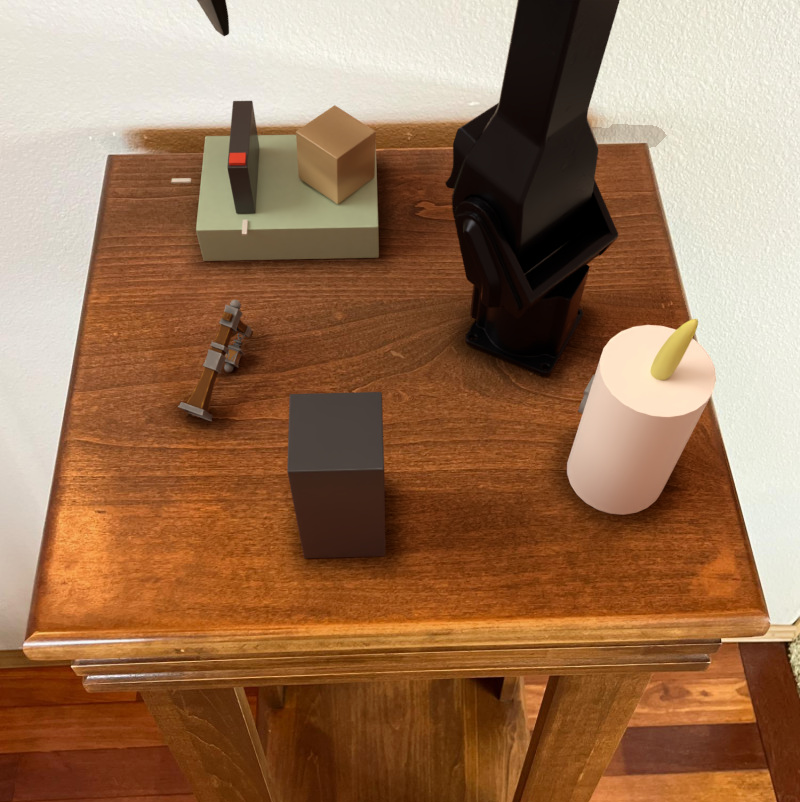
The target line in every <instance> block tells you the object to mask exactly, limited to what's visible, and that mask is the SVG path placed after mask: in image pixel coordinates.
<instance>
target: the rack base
mask: <svg viewBox="0 0 800 802" xmlns="http://www.w3.org/2000/svg"><path fill="white" fill-rule="evenodd" d="M258 141H259V147H260V148H259V164H258V180H257V196H256V212H255V213H238V214H237V213H236V210H235V205H234V200H233V195H232V190H231V185H230V179H229V174H228V169H227V165H228V154H229V142H230V135H205V138H204V146H203V156H202V167H201V168H202V169H201V177H200V187H199V197H198V204H197V205H198V206H197V217H196V225H195V226H196V227H195V232H196V236H197V240H198V244H199V248H200V252H201V256H202V260H203V262H223V261H225V262H226V261H227V262H228V261H229V262H231V261H274V260H280V261H281V260H328V259H378V258H379V257H380V250H379V249H380V241H379V240H380V239H379V236H380V235H379V205H378V203H379V202H378V201H379V199H378V176H377V175H378V172H377V171H378V170H377V167H378V166H377V141H375V173H374V178H373V179H372V180H370V181H369V182H368V183H366V184H365V185H364V186H362V187H361V188H359V189H358V190H357V191H355V192H354V193H353V194H351V195H350V196H349V197H347V198H346V199H345V200H343V201H342V202H340V203H339V204H337V203H335V202H334V201H332V200H331V199H329V198H328V197H326V196H325V195H323V194H322V193H320V192H319V191H317V190H316V189H314V188H313V187H311V186H310V185H309V184H307V183H306V182H304V181H303V180H301V179H300V178H299V176H298V159H297V142H296V134H260V135H259V134H258ZM170 183H171V184H191V183H192V178H191V177H185V178H184V177H179V178H178V177H177V178H176V177H175V178H171V181H170Z"/></svg>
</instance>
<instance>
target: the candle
mask: <svg viewBox="0 0 800 802" xmlns="http://www.w3.org/2000/svg"><path fill="white" fill-rule="evenodd" d="M698 325H699V319H698V318H692V319H690V320H687V321H686V322H684V323H683V324H682V325H680V326H679V327H678V328H677V329H676V328H672V327H668V326H664V325H655V324H653V325H652V324H645V325H635V326H632V327H629V328H627V329H623V330H621V331H619V332H618V333H617V334H615V335H614V336H613V337H611V338H610V339H609V341H607V343H606V345H604V347H603V349H602V352H601V355H600V357H599V361H598V364H597V367H596V370H595V374H593V375H592V376H591V378H590V381H589V382H588V384H587V385H586V387H585V389H584V390H583V397H582V399H581V402H580V404H579V406H578V410H577V412H578V413H579V414H582V415H581V418H580V421H579V424H578V427H577V430H576V434H575V437H574V439H573V443H572V446H571V450H570V453H569V456H568V459H567V462H566V475H567V478H568V481H569V484H570V486H571V488H572V489H573V491H574V493H575V494H576V496H577V497H579V498H580V499H581V500H582V501H583V502H584V503H585V504H587V505H589V506H590V507H592V508H594V509H596V510H598V511H599V512H603V513H607V514H610V515H612V514H613V515H623V516H624V515H629V514H636V513H639V512H641V511H643V510H645V509H648V508H649V507H650V506H651V505H653V504H654V503H655V502H656V501H657V500H658V498H659V497H660V495H661V494H662V492H663V490H664V488H665V487H666V484H667V482H668V480H669V479H670V476H671V474H672V473H673V471H674V469H675V467H676V465H677V464H678V461H679V459H680V458H681V455H682V453H683V451H684V450H685V447H686V445H687V443H688V442H689V440H690V438H691V436H692V434H693V432H694V430H695V428H696V426H697V424H698V422H699V420H700V418H701V417H702V414H703V412H704V410H705V408H706V407H707V405H708V404H709V403H708V402H709V401H710V400H711V397H712V395H713V393H714V390H715V387H716V383H717V373H716V367H715V364H714V362H713V360H712V358H711V356H710V354H709V353H708V351H707V350H706V349H705V347H704V346H702V344H701V343H700V342H698V341H697V340H695V338H694V336H695V333H696V332H697V330H698Z"/></svg>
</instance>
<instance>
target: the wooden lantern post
mask: <svg viewBox="0 0 800 802" xmlns="http://www.w3.org/2000/svg"><path fill="white" fill-rule="evenodd" d="M241 307H242V304H241V301H240V300H238V299H233V300H231V301H230V303H229V305H228V304H225V305H224V311H223V312H222V314H221V318H220V320H219V322H218V324H220V326H219V328H218V331H217V334H216V336H215V339H214V341H211V342H210V344H209V346H210V349H207V355H206V357H205V360H204V363H203V364H202V367H203V370H202V373H201V376H200V378H199V379H198V381H197V384H196V385H195V387H194V390H193V391H192V393H191V395H190V397H189V398H188V400H187V401H186V403H185V402H182V401H180V404H179V405H178V406H177V408H179V409H180V410H182V411H184V412H185V413H187V414H190V415H192V416H196V417H198V418H201V419H203V420H206V421H210V422H213V417H214V415H213V414H210V413H209V412H210V404H211V400H212V395H213V392H214V388H215V383H216V381H217V377H218V375H221V373H222V368H223V369H224V371H225V372H227V373H232V372H233V371H234V368H236V369H239V363H240V361H241V356H245V355H246V353H245V352H244V351H243V350H242V349H241V348H242V346H244V343H243V341H242V340H243V339H244V338H247V339H248V338H249V339H252V337H253V334H254V330H253V329H252V327H251V326H249V325H248V324H246V323H244V322H243V321H242V320H241V318H242V316H243V314H244V312H243V311H241V310H240V309H241ZM236 335H237V339H233V344H230V342H231V340H232V338H233V337H235V336H236ZM241 336H242V337H241Z"/></svg>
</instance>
